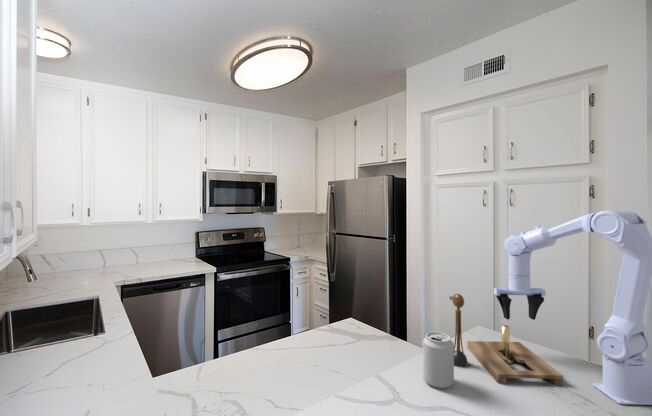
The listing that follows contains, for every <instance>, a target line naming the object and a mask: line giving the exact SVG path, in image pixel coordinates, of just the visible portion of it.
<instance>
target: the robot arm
mask: <svg viewBox="0 0 652 416" xmlns="http://www.w3.org/2000/svg"><path fill="white" fill-rule="evenodd" d="M584 232H587V233H595V234H596V235H598V236H600V237H602V238H603V239H606V240H608V241H609V242H611V243H613V244H614V245H615V246H616V247H617V248H618V249H620V250H621V251H622V252H623V255H622V261H621V265H620V271H619V274H618V275H619V277H618V280H617V287H616V291H615V298H614V302H613V307H612V313H611V315H610V317H609V319H608V321H607V322H606V323H605V325H604V329H603V331H602V332H601V333H600V334H598V336H597V339H596V344H597V347H598V349H599V350H600V352H601V353H602V382H600V383H599V382H593V383H592V386H593V387H595V388H596V389H598V390H599V391H601V392H602V393H604V394H605V395H606V396H607V397H609V398H610V399H612V400H613V401H615V403H617V404H619V405H637V406H639V405H641V406H644V405H645V406H652V362H651V361H650V360H649V359H647V358H645V357H644V356H643V353H644V352H646V351H647V350H648V347H649V340H648V338H647V336H646V332H647V331H646V329H647V327H646V325H645V324H644V323H643V320H644V315H645V309H646V304H647V300H648V295H649V290H650V286H651V282H652V281H651V280H652V235H651V233H650V230H649V229H648V226H647V221H646V220H645V219H644V218H643V217H641V216H640V215H638V213H636V212H635V211H632V210H629V209H622V210H621V209H619V210H607V209H605V210H601V211H599V212H598V211H597V212H595V213H594V212H593V213H589V214H585V215H582V216H580V217H576V218H575V219H572V220H569V221H567V222H564V223H562V224H559V225H557V226H553V227H549V226H545V225H544V226H542V225H536V226H535V227H534V229H532V230H529V231H521V232H520V234H519V235H510V236H508V237H507V238H506V239H505V240H504V243H503V245H504V250H505V251H506V252H507V255H508V286H502V287H493V294H494V296H495V297H496V299H497V300H498V303H499V304H500V307H501V310H502V313H503V318H504V319H506V320H510V318H511V303H512V298H510V296H526V299H527V302H528V318H529V319H531V320H533V321H535V320H536V318H537V314H538V311H539V309H540V307H541V305H542V304H543V302H544V301H545V297H546V289H544V288H542V287H531V256H532V253H533V252H535V251H538V250H541V249H544V248H548V247H552V246H554V245H556V243H557V240H558V239H561V238H565V237H568V236H569V237H570V236H573V235H576V234H579V233H584Z"/></svg>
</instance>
